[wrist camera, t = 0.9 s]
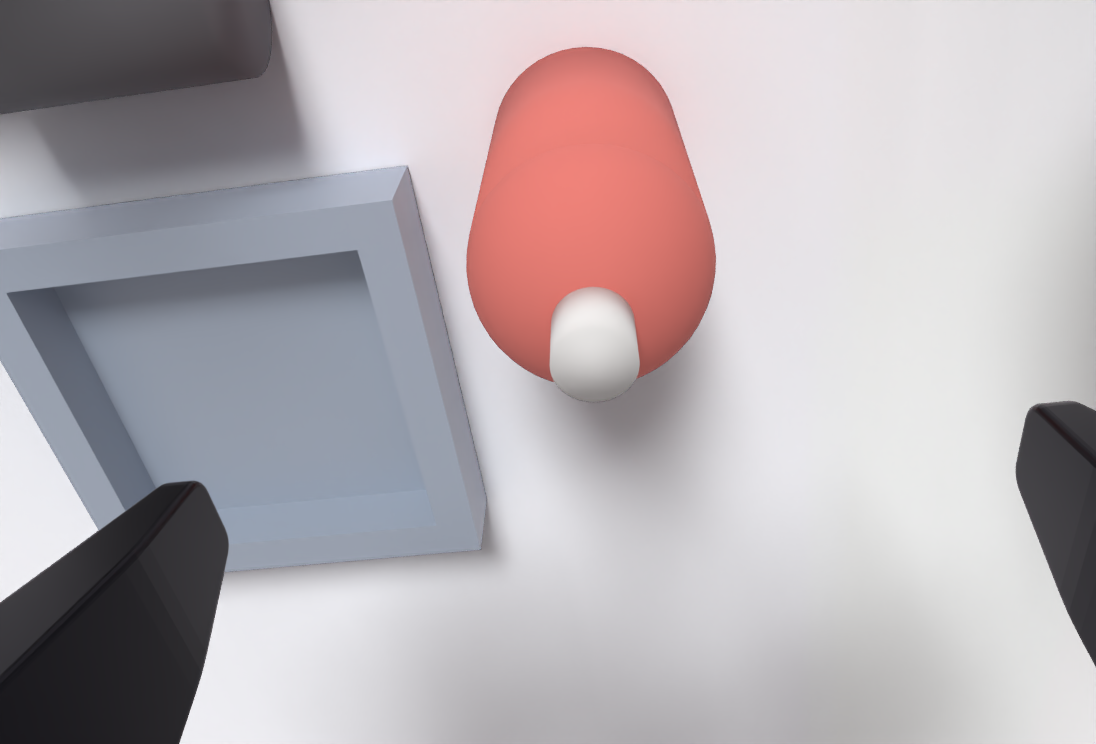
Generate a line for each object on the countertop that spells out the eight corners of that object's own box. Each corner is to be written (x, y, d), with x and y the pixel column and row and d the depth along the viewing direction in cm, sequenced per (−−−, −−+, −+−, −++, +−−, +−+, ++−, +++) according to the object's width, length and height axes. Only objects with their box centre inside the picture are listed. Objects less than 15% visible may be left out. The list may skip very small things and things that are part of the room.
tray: (407, 165, 19) (391, 199, 18) (486, 499, 25) (480, 549, 23) (-8, 219, 20) (-60, 257, 19) (156, 529, 26) (127, 580, 24)
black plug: (245, -109, 17) (159, -156, 14) (285, 78, 18) (214, 77, 15) (-103, -52, 18) (-264, -84, 14) (-45, 125, 19) (-183, 134, 15)
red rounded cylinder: (670, 34, 18) (743, 207, 10) (681, 214, 20) (748, 466, 12) (478, 61, 18) (414, 246, 11) (510, 235, 20) (475, 492, 13)
